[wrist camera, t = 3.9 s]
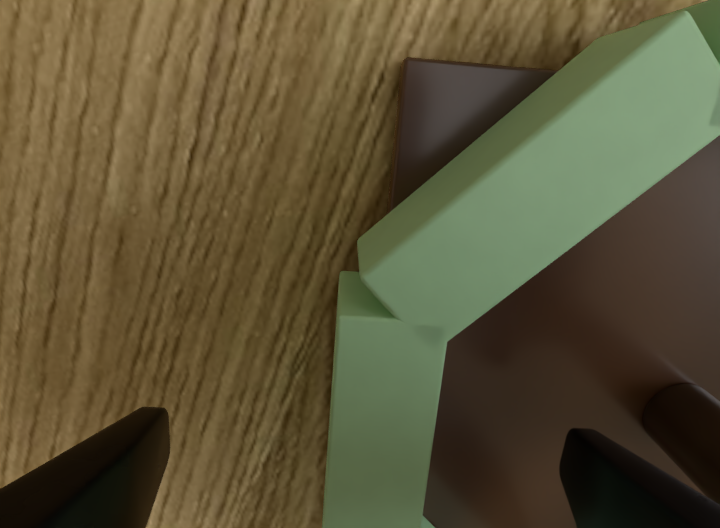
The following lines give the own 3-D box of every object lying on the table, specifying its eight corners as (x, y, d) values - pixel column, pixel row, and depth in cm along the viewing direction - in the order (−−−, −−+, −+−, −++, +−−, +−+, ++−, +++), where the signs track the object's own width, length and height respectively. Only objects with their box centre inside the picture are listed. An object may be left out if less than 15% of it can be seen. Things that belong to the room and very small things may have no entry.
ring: (313, 653, 13) (305, 768, 11) (358, -4, 8) (362, -50, 6) (873, 670, 14) (978, 782, 11) (1192, 74, 9) (1475, 59, 7)
